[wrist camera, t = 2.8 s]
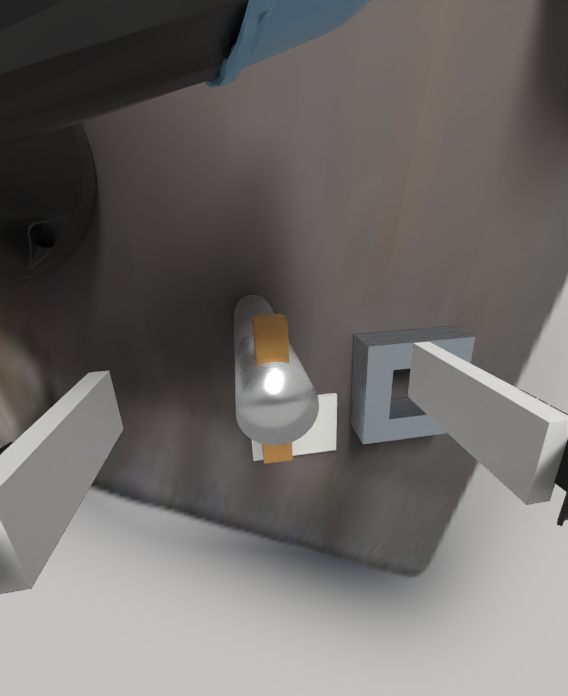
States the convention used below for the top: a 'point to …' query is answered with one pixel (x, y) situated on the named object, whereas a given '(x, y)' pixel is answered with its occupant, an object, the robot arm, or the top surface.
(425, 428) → the block
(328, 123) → the top surface
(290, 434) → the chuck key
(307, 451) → the mat
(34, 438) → the robot arm
